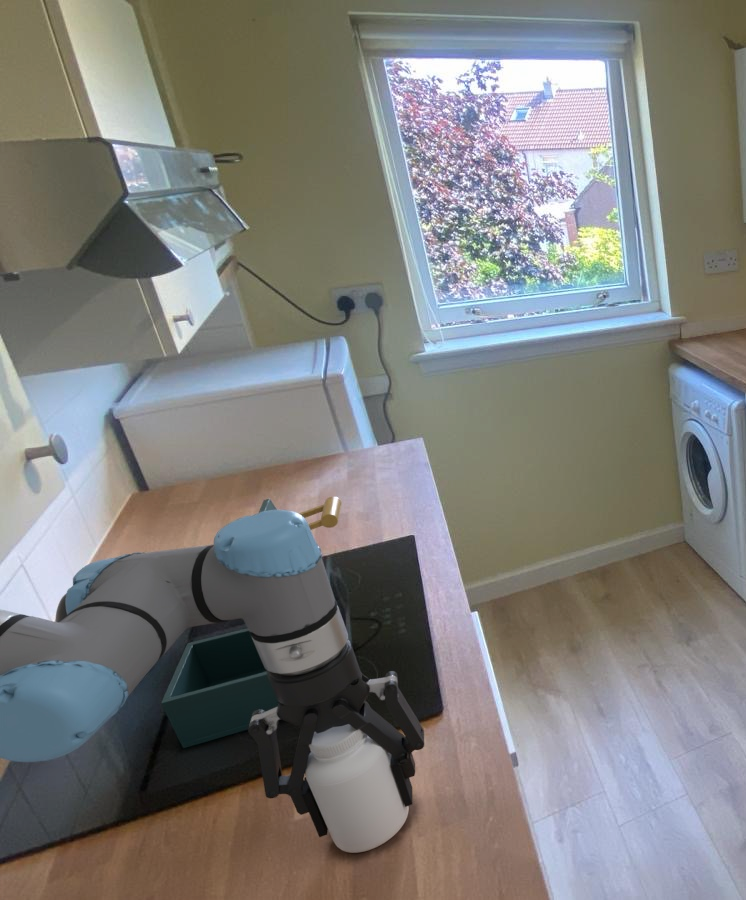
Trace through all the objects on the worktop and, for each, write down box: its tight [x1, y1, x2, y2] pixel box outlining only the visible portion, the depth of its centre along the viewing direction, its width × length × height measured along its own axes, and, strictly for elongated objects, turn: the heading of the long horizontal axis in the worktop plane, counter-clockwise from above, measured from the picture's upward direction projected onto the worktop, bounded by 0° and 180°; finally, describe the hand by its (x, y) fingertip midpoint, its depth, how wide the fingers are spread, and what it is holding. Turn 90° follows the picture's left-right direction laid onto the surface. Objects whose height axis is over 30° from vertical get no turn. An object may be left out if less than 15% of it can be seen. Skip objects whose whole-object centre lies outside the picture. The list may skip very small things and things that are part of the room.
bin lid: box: [258, 496, 342, 603], centre depth 103 cm, size 19×14×9 cm
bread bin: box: [160, 628, 282, 749], centre depth 105 cm, size 19×14×8 cm
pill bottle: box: [304, 724, 410, 854], centre depth 82 cm, size 8×8×15 cm
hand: (367, 811), depth 85 cm, fingers closed on pill bottle, 8 cm apart
